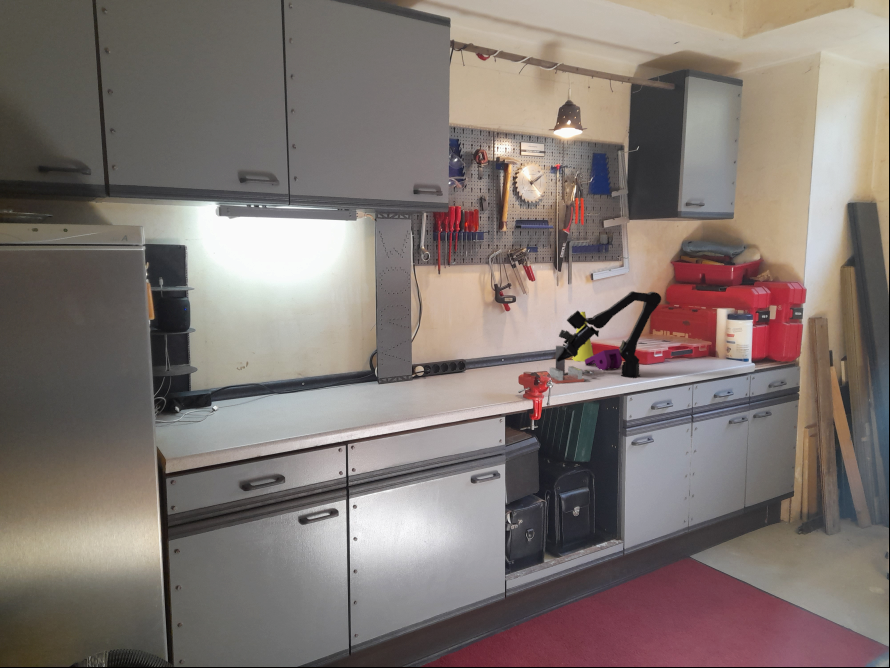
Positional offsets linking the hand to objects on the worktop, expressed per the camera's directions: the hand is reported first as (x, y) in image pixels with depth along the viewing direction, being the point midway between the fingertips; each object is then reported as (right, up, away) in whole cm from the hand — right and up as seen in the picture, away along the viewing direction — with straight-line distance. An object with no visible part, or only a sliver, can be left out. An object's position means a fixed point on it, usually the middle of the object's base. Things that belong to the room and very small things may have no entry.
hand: (557, 360), depth 267 cm
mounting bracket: (+25, -5, +18) cm, 31 cm away
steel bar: (+1, -7, +1) cm, 7 cm away
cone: (+21, -2, +40) cm, 45 cm away
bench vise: (+4, -8, -12) cm, 15 cm away
